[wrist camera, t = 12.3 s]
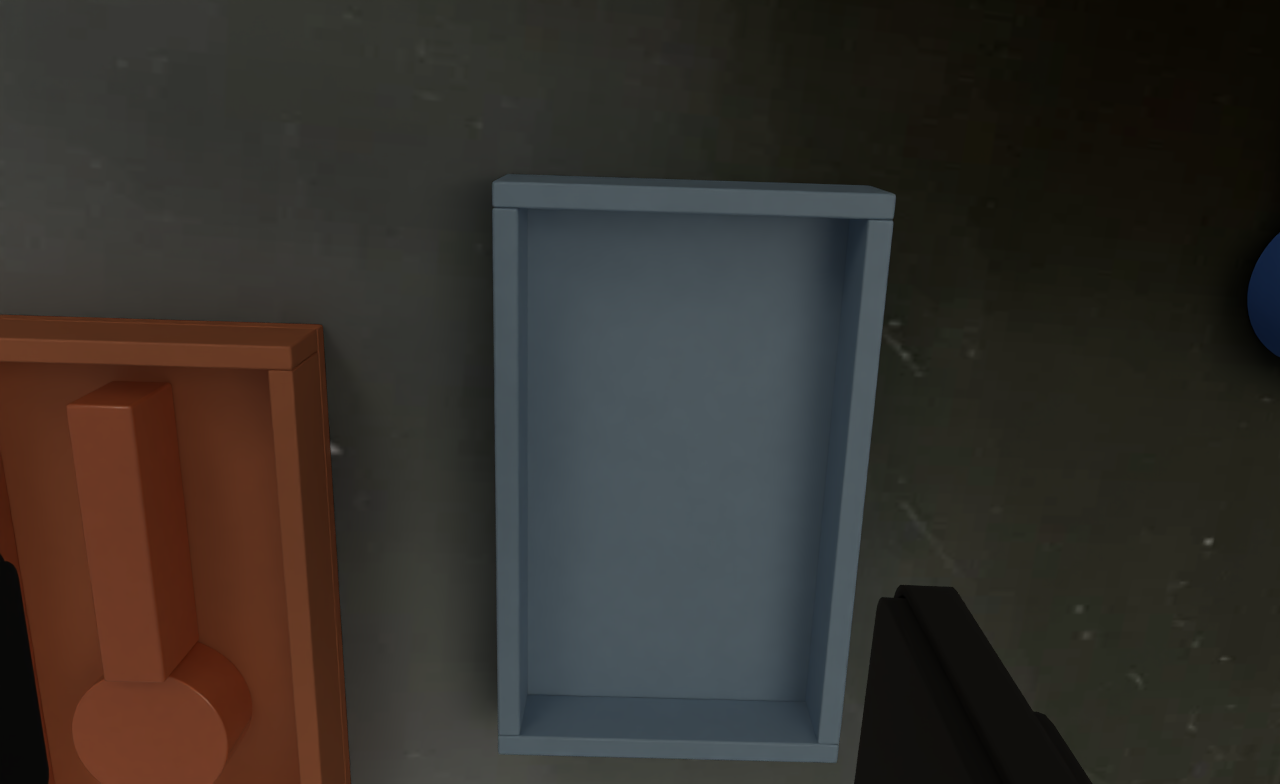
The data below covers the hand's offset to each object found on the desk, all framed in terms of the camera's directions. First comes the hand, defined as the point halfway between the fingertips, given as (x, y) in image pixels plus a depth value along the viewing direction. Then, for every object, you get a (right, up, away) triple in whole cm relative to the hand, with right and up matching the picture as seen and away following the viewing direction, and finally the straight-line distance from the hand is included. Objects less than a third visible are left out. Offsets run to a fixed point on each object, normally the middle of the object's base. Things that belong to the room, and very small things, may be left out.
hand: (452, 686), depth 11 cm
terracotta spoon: (-11, -2, +16) cm, 20 cm away
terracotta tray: (-11, -2, +17) cm, 20 cm away
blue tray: (+3, +1, +16) cm, 16 cm away
